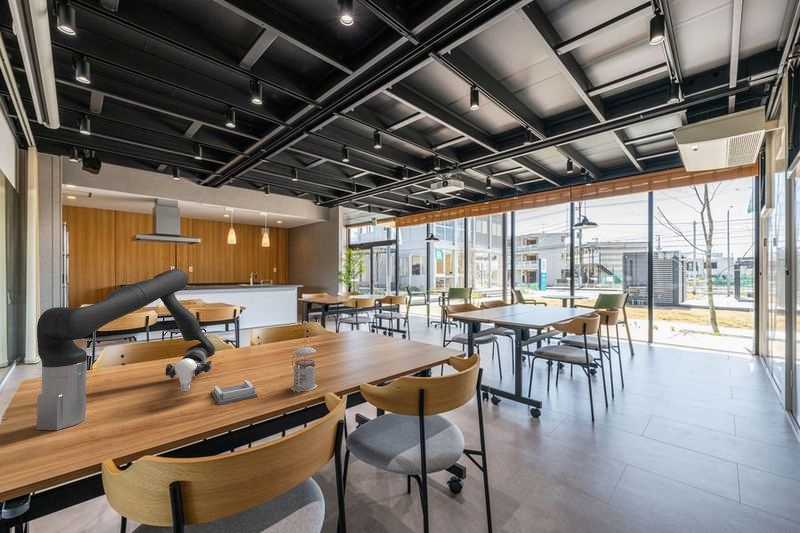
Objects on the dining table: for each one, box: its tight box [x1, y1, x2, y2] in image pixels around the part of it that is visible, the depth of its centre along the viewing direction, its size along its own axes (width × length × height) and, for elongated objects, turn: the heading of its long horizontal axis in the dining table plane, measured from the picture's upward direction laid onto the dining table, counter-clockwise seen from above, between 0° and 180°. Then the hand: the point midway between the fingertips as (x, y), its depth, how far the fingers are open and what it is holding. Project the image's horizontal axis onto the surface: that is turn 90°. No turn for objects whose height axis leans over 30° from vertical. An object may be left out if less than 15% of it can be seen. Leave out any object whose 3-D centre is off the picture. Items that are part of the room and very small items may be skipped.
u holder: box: [210, 379, 258, 406], centre depth 121 cm, size 14×12×3 cm
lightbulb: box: [174, 358, 197, 393], centre depth 114 cm, size 6×6×11 cm
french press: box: [290, 320, 318, 393], centre depth 129 cm, size 10×12×25 cm
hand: (184, 373), depth 112 cm, fingers closed on lightbulb, 6 cm apart
